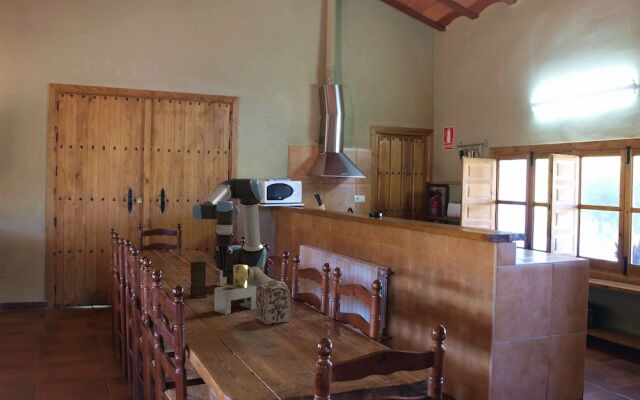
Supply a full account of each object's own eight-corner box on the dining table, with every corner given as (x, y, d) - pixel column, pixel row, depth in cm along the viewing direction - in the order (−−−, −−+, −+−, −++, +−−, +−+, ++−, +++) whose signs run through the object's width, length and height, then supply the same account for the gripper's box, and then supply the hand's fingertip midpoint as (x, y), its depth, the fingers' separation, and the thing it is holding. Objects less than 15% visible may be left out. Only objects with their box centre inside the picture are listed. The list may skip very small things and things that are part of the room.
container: (202, 298, 288) (202, 264, 287) (186, 297, 289) (186, 263, 289) (209, 295, 296) (209, 262, 296) (193, 294, 298) (194, 261, 297)
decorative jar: (265, 324, 240) (265, 283, 239) (255, 318, 250) (256, 279, 249) (290, 322, 245) (291, 281, 244) (280, 315, 255) (280, 277, 255)
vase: (288, 269, 304) (239, 259, 295) (302, 269, 285) (250, 258, 275) (280, 309, 300) (231, 300, 290) (294, 312, 280) (241, 302, 270)
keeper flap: (228, 286, 266) (228, 284, 266) (235, 288, 262) (235, 286, 262) (215, 284, 261) (216, 282, 261) (222, 286, 257) (223, 283, 257)
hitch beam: (244, 305, 276) (245, 283, 275) (256, 308, 269) (256, 285, 269) (214, 310, 263) (214, 287, 262) (225, 314, 256) (225, 290, 256)
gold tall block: (241, 300, 273) (242, 263, 272) (250, 302, 268) (250, 265, 267) (230, 302, 268) (230, 265, 267) (238, 304, 263) (239, 267, 262)
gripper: (209, 232, 262) (208, 282, 262) (225, 235, 252) (224, 286, 253) (222, 232, 267) (221, 280, 268) (239, 234, 258) (237, 284, 258)
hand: (223, 283), depth 260 cm, fingers closed
